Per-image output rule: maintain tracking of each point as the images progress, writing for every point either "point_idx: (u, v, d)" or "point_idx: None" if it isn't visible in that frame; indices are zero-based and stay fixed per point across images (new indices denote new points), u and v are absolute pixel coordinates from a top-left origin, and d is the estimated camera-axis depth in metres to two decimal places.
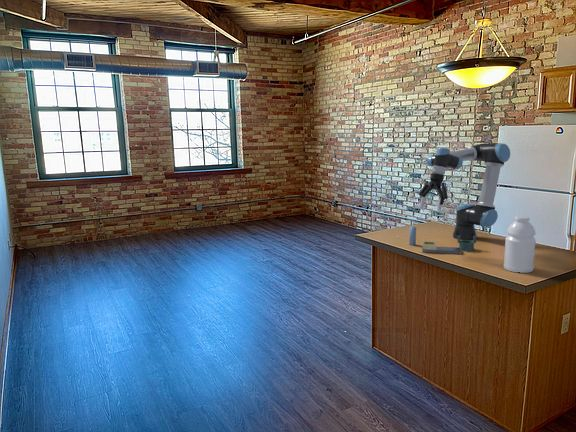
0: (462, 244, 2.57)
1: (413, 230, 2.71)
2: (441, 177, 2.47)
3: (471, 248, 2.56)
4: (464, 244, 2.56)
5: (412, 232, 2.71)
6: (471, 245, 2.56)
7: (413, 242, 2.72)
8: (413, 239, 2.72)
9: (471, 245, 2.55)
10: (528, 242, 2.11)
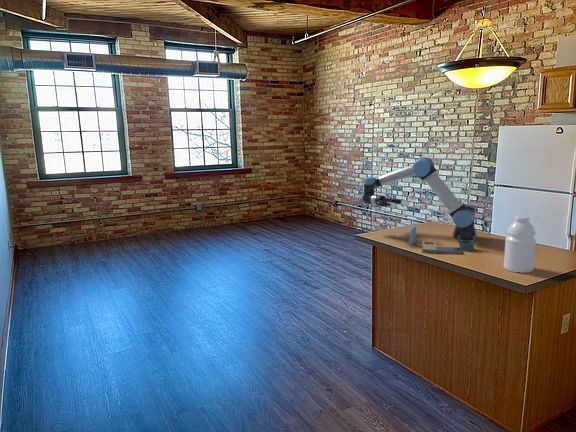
0: (462, 244, 2.57)
1: (413, 230, 2.71)
2: (376, 201, 2.92)
3: (471, 248, 2.56)
4: (464, 244, 2.56)
5: (412, 232, 2.71)
6: (471, 245, 2.56)
7: (413, 242, 2.72)
8: (413, 239, 2.72)
9: (471, 245, 2.55)
10: (528, 242, 2.11)
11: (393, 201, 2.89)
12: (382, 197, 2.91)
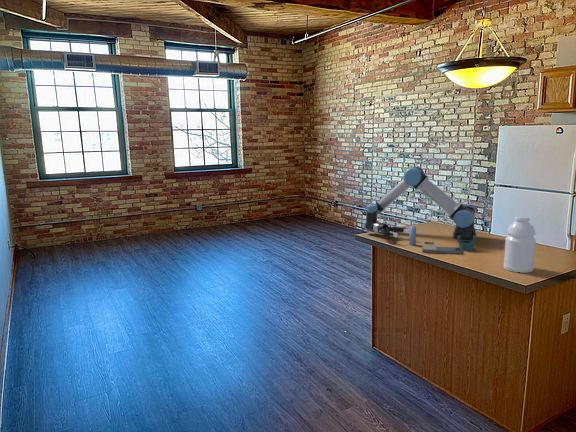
0: (462, 244, 2.57)
1: (413, 230, 2.71)
2: (379, 230, 2.93)
3: (471, 248, 2.56)
4: (464, 244, 2.56)
5: (412, 232, 2.71)
6: (471, 245, 2.56)
7: (413, 242, 2.72)
8: (413, 239, 2.72)
9: (471, 245, 2.55)
10: (528, 242, 2.11)
11: (396, 230, 2.90)
12: (385, 225, 2.92)
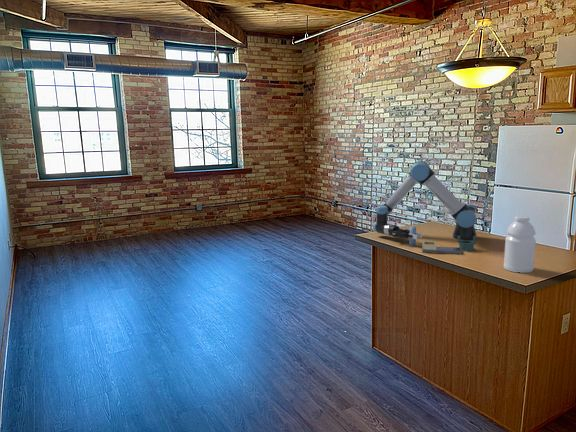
0: (462, 244, 2.57)
1: (413, 230, 2.71)
2: (390, 232, 2.85)
3: (471, 248, 2.56)
4: (464, 244, 2.56)
5: (412, 232, 2.71)
6: (471, 245, 2.56)
7: (413, 242, 2.72)
8: (413, 239, 2.72)
9: (471, 245, 2.55)
10: (528, 242, 2.11)
11: (406, 232, 2.80)
12: (396, 227, 2.84)
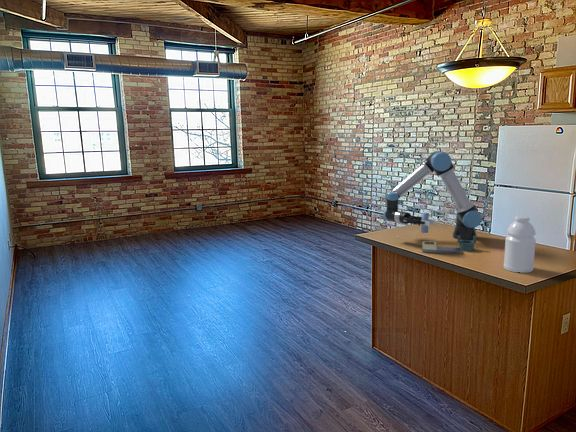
0: (462, 244, 2.57)
1: (425, 216, 2.57)
2: (401, 219, 2.71)
3: (471, 248, 2.56)
4: (464, 244, 2.56)
5: (424, 218, 2.57)
6: (471, 245, 2.56)
7: (425, 230, 2.58)
8: (425, 226, 2.58)
9: (471, 245, 2.55)
10: (528, 242, 2.11)
11: (417, 219, 2.66)
12: (407, 214, 2.70)
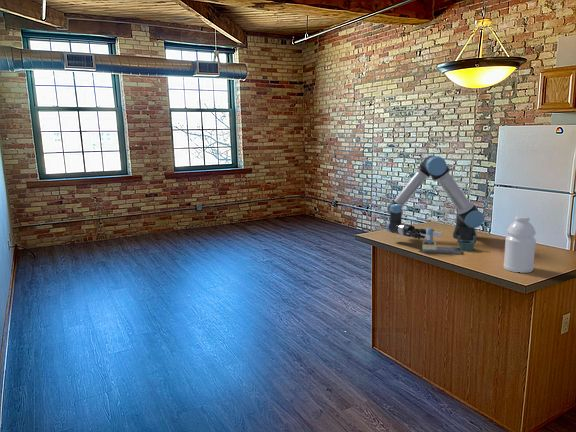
0: (462, 244, 2.57)
1: (430, 232, 2.55)
2: (405, 232, 2.69)
3: (471, 248, 2.56)
4: (464, 244, 2.56)
5: (429, 234, 2.56)
6: (471, 245, 2.56)
7: None
8: (430, 242, 2.56)
9: (471, 245, 2.55)
10: (528, 242, 2.11)
11: (423, 232, 2.65)
12: (411, 227, 2.69)
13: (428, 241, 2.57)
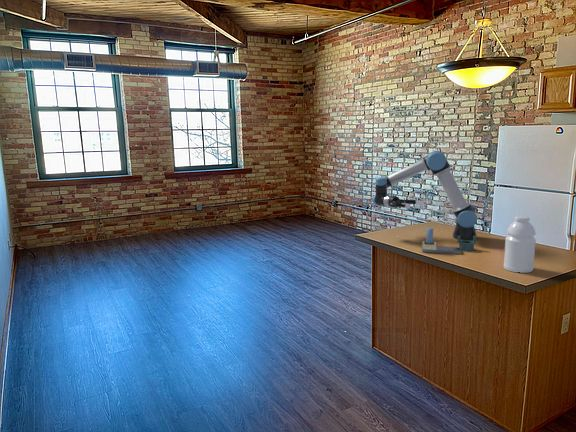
0: (462, 244, 2.57)
1: (430, 232, 2.55)
2: (390, 203, 2.79)
3: (471, 248, 2.56)
4: (464, 244, 2.56)
5: (429, 234, 2.56)
6: (471, 245, 2.56)
7: None
8: (430, 242, 2.56)
9: (471, 245, 2.55)
10: (528, 242, 2.11)
11: (407, 202, 2.76)
12: (395, 198, 2.79)
13: (428, 241, 2.57)
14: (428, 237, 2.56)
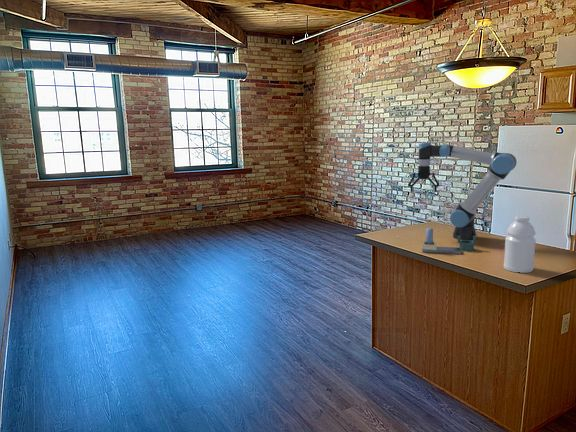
0: (462, 244, 2.57)
1: (430, 232, 2.55)
2: (418, 168, 2.86)
3: (471, 248, 2.56)
4: (464, 244, 2.56)
5: (429, 234, 2.56)
6: (471, 245, 2.56)
7: None
8: (430, 242, 2.56)
9: (471, 245, 2.55)
10: (528, 242, 2.11)
11: (429, 180, 2.85)
12: (423, 171, 2.82)
13: (428, 241, 2.57)
14: (428, 237, 2.56)
